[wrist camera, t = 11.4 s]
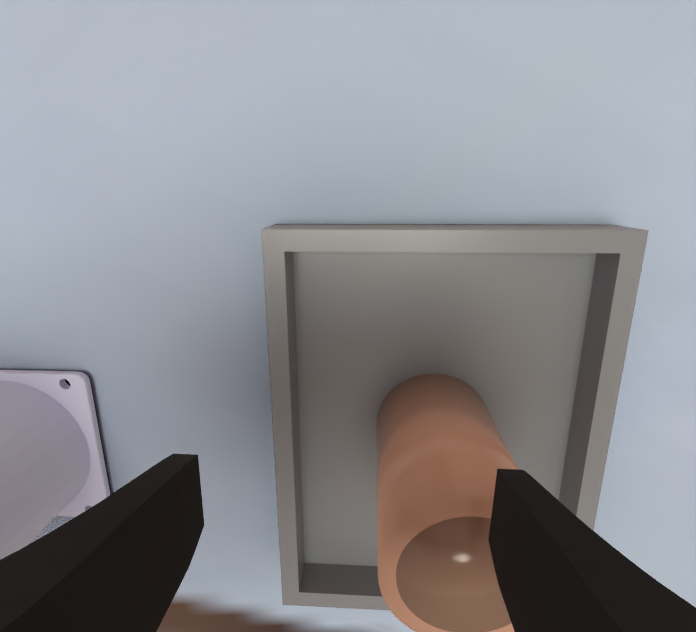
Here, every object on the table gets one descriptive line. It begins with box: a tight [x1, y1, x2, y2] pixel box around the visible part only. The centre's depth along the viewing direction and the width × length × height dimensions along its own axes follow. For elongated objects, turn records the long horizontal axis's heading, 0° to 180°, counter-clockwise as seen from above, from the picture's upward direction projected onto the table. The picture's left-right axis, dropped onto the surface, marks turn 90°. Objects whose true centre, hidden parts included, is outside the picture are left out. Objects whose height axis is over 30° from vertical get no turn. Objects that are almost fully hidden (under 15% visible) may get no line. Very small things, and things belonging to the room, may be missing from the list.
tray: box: [262, 224, 648, 610], centre depth 19 cm, size 14×18×2 cm
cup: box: [376, 374, 518, 632], centre depth 16 cm, size 5×5×8 cm
